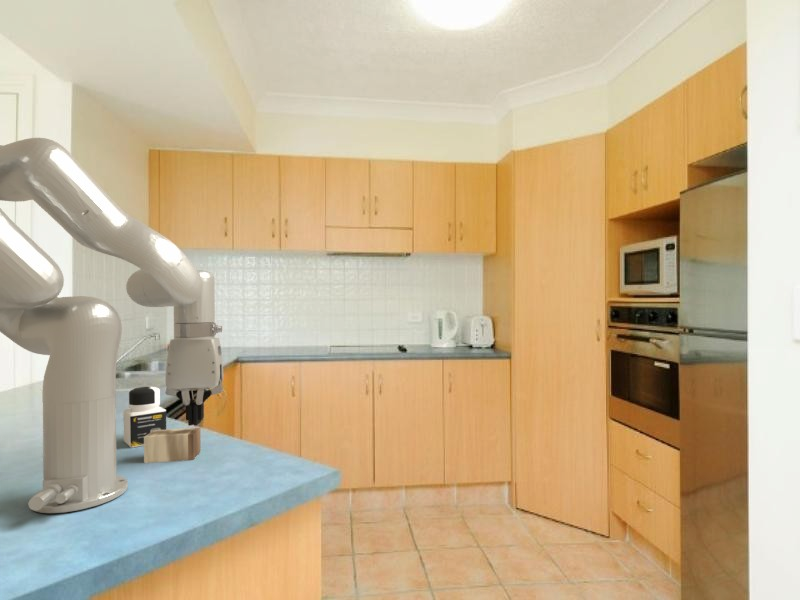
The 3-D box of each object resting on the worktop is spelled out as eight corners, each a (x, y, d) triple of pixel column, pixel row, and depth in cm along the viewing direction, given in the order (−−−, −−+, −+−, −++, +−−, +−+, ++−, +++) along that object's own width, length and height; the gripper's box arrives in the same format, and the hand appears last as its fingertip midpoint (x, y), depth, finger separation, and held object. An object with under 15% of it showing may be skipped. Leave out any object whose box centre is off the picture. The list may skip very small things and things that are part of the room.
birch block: (193, 434, 90) (143, 437, 89) (193, 460, 90) (144, 463, 89) (200, 427, 95) (153, 430, 94) (200, 452, 95) (153, 454, 94)
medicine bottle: (130, 448, 98) (129, 392, 99) (123, 441, 104) (122, 387, 104) (166, 441, 103) (166, 387, 103) (158, 435, 108) (157, 383, 109)
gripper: (237, 330, 98) (237, 417, 97) (161, 331, 96) (162, 421, 95) (229, 332, 90) (229, 426, 90) (147, 333, 88) (147, 430, 88)
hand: (194, 423), depth 93 cm, fingers closed
